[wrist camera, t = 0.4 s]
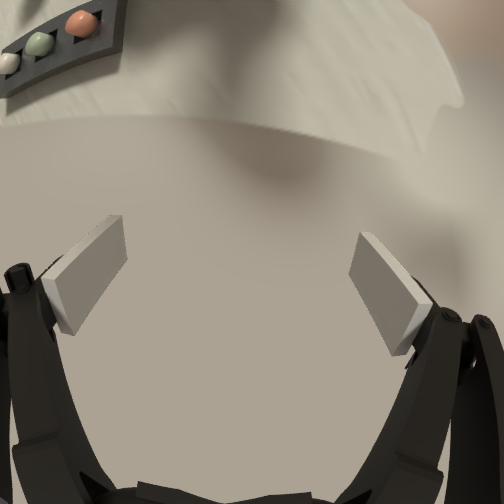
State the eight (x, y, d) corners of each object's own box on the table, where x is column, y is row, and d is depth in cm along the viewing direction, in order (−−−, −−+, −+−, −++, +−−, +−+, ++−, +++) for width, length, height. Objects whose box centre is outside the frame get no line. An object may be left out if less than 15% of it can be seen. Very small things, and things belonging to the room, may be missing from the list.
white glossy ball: (8, 59, 22) (-4, 58, 19) (21, 51, 22) (9, 49, 19) (7, 77, 24) (-6, 77, 21) (19, 69, 24) (6, 69, 21)
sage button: (39, 40, 22) (26, 37, 19) (55, 31, 23) (43, 28, 19) (37, 59, 24) (24, 57, 21) (53, 51, 24) (40, 48, 21)
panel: (12, 51, 24) (2, 50, 21) (127, -3, 24) (119, -10, 21) (8, 97, 29) (-3, 98, 26) (122, 51, 29) (112, 46, 26)
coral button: (78, 21, 23) (67, 16, 19) (99, 13, 23) (88, 6, 19) (76, 41, 24) (63, 37, 21) (97, 33, 24) (85, 27, 21)
